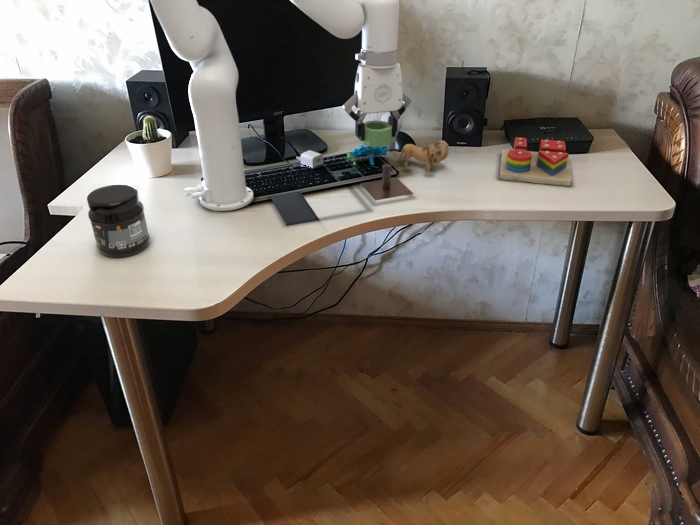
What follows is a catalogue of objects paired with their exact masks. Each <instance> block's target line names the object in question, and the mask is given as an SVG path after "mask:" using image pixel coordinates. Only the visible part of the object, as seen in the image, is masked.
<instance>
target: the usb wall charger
mask: <svg viewBox="0 0 700 525" xmlns="http://www.w3.org/2000/svg"><path fill="white" fill-rule="evenodd" d="M295 158H296V160H297V161H300V167H301V168H302V167H308V166H309V167H308V168H310V167H311V169H314V167H315V168H317V167H319V166H321V165H323V164H324V155H323V154H322V153H320V152H317V151H313V150H310V149H309V150H306V151H304V152H302V153H301V154H300V156H296V157H295ZM301 164H303V165H306V166H303V165H301ZM318 165H319V166H318ZM316 166H317V167H316Z"/></svg>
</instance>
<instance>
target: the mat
mask: <svg viewBox="0 0 700 525" xmlns="http://www.w3.org/2000/svg"><path fill="white" fill-rule="evenodd" d="M269 197H270V199H271V201H272V202H273V204H274V206H275V207H276V209H277V212H278V213H279V215H280V216H281V218H282V220H283V221H284V224H285V225H286V226H293V225H299V224H304V223H310V222H316V221H320V218H319V217H318V215H317V214H316V212H315V211H314V209H313V208H312V206H311V205H310V203H309V202H308V201H307V199H306V197H305V196H304V194H303V193H302V192H301V191H299V190H298V191H293V192H288V193H287V192H286V193H281V194H275V195H270V196H269Z"/></svg>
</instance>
